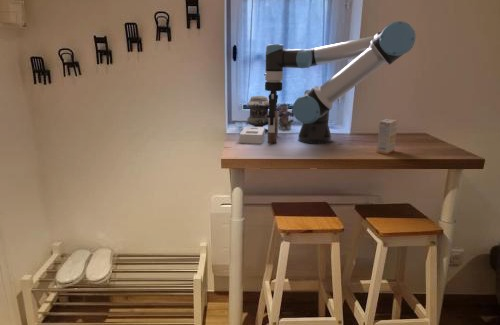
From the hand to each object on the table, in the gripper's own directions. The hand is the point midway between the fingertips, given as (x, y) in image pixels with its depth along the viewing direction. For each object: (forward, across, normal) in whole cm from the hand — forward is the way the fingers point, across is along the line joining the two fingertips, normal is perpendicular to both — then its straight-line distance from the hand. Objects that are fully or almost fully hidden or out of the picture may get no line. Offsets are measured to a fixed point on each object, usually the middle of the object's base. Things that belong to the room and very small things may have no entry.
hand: (272, 129), depth 166 cm
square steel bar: (+6, -14, 0) cm, 15 cm away
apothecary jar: (+6, -27, -8) cm, 29 cm away
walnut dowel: (+6, 0, 0) cm, 6 cm away
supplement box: (+6, +10, +48) cm, 49 cm away
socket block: (+6, -7, -9) cm, 13 cm away
